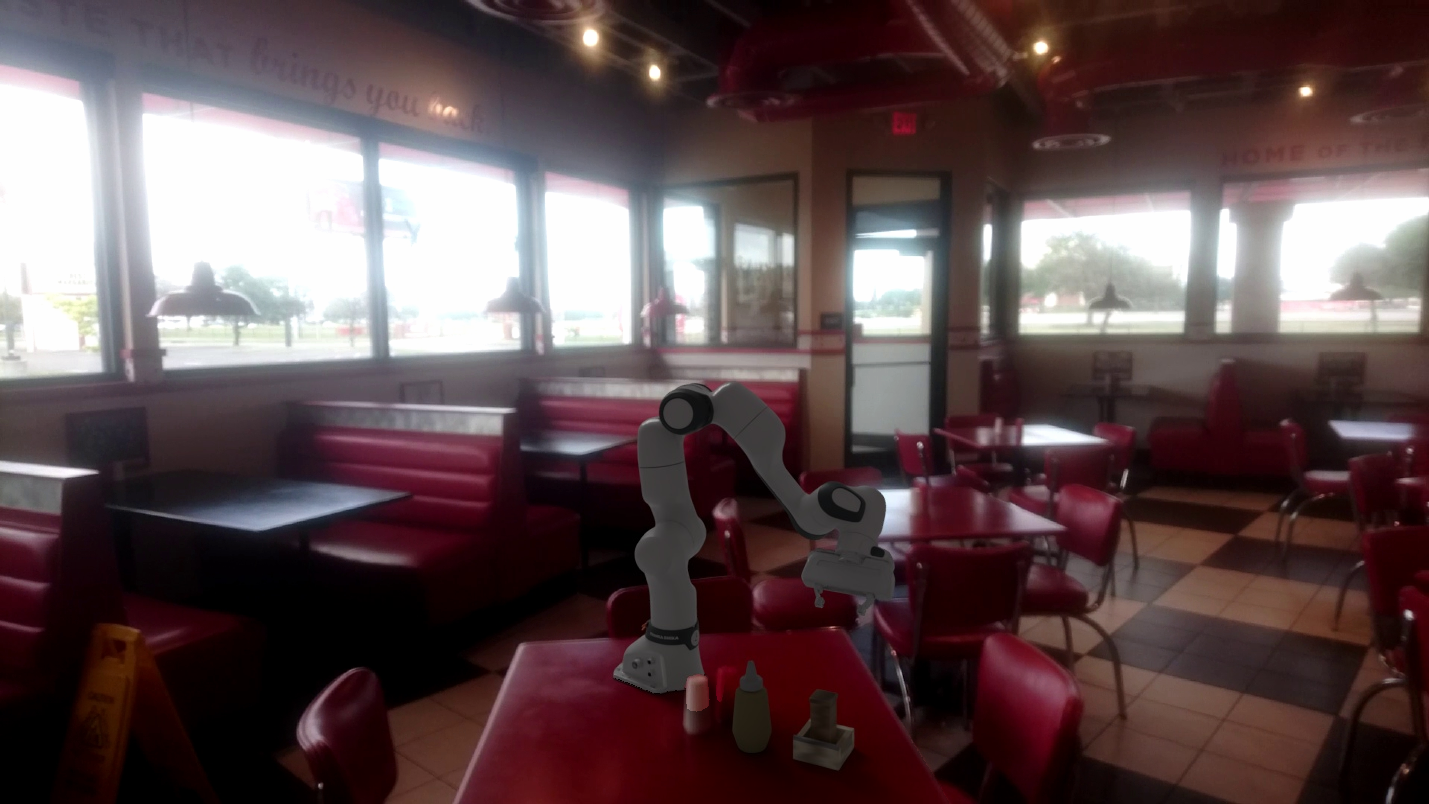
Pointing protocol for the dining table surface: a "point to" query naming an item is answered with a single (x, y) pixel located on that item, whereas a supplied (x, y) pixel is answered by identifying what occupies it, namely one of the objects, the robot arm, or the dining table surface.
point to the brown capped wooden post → (823, 716)
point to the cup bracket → (823, 747)
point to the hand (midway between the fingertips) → (839, 610)
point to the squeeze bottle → (751, 713)
